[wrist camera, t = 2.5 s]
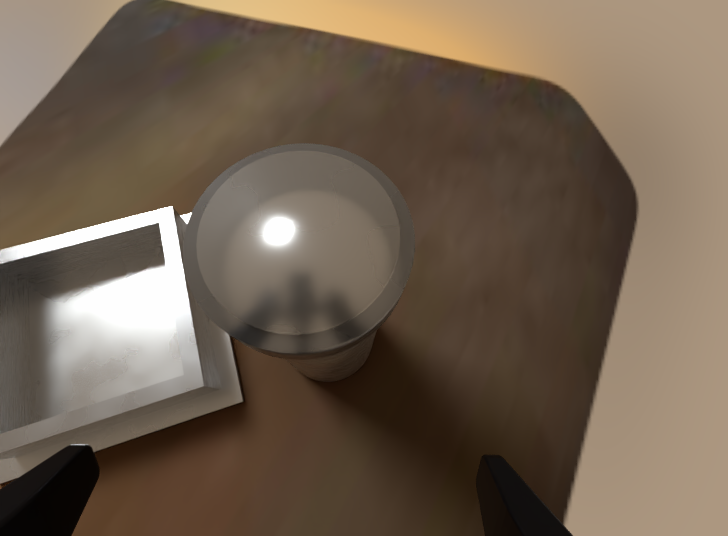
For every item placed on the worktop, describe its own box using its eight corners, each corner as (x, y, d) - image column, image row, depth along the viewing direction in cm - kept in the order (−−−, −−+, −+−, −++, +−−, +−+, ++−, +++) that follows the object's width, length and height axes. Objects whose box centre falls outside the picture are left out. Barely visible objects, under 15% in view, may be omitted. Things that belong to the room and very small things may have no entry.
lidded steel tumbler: (399, 326, 22) (459, 213, 10) (338, 412, 20) (317, 406, 8) (321, 269, 23) (286, 105, 11) (256, 346, 21) (127, 253, 9)
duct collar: (244, 401, 20) (228, 399, 17) (-1, 484, 18) (-60, 496, 16) (204, 212, 24) (186, 187, 21) (0, 265, 22) (-47, 246, 20)
